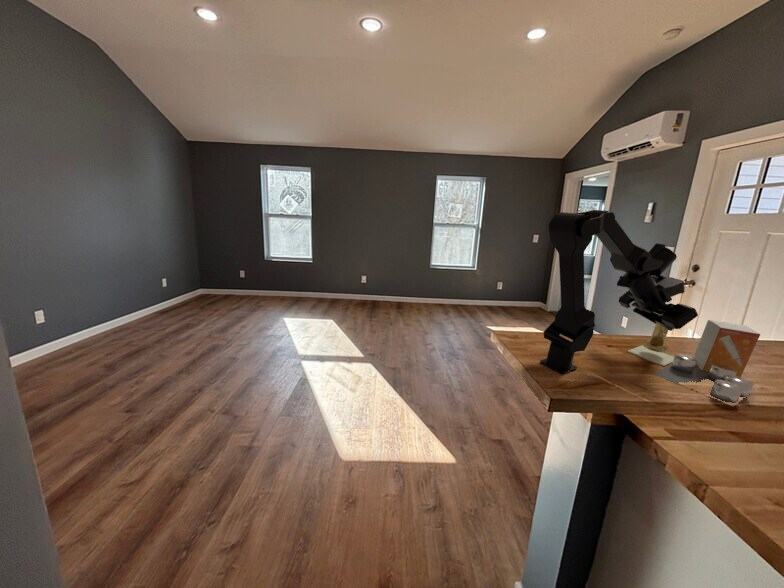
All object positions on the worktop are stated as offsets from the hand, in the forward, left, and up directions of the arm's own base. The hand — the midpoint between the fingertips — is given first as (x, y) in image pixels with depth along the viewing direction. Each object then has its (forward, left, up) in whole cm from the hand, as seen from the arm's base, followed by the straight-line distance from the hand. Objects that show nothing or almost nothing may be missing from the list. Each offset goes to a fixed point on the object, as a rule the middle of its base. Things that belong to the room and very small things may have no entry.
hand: (666, 327), depth 90 cm
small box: (+7, -11, -10) cm, 16 cm away
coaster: (-1, +1, -9) cm, 9 cm away
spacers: (-6, -12, -9) cm, 16 cm away
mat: (-6, -12, -9) cm, 16 cm away
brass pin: (-1, +1, -7) cm, 7 cm away
